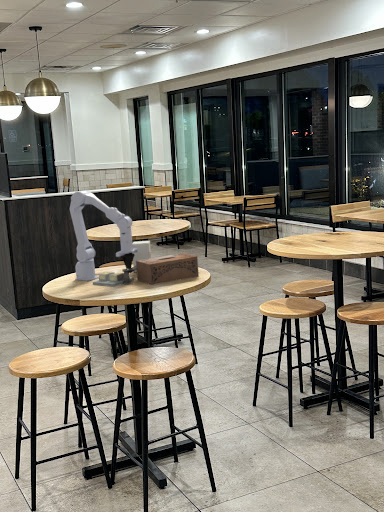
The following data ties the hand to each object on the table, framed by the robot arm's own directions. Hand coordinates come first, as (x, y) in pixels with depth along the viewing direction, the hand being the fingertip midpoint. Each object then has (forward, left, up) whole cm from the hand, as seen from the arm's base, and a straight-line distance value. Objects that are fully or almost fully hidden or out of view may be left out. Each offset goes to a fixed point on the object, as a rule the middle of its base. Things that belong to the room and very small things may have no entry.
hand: (128, 268), depth 313 cm
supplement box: (-7, +18, -5) cm, 20 cm away
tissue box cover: (+19, +6, -5) cm, 21 cm away
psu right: (+1, -10, -4) cm, 11 cm away
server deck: (0, -10, -5) cm, 11 cm away
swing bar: (+5, -3, 0) cm, 6 cm away
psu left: (-6, -10, -4) cm, 12 cm away
